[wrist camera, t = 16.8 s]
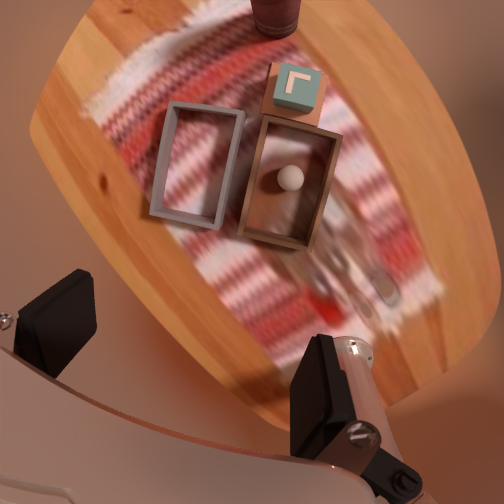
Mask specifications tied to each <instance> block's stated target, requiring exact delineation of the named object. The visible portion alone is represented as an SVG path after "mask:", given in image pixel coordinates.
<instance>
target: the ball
mask: <svg viewBox="0 0 504 504" xmlns="http://www.w3.org/2000/svg"><path fill="white" fill-rule="evenodd" d="M277 180H278V183H279V185H280V186H281V187H282V188H283V189H284V190H287V191H295V190H297V189H299V188H300V187H301V186H302V184H303V181H304V176H303V173H302V171H301V170H300V169H299V168H298V167H296V166H294V165H287V166H284V167H283V168H282V169H281V170H280V171H279V173H278V176H277Z"/></svg>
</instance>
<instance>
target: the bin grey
mask: <svg viewBox="0 0 504 504" xmlns="http://www.w3.org/2000/svg"><path fill="white" fill-rule="evenodd" d="M180 109H182V110H191V111H199V112H206V113H213V114H220V115H226V116H232V117H237V119H236V123H235V128H234V132H233V136H232V141H231V145H230V150H229V154H228V159H227V163H226V168H225V173H224V178H223V182H222V187H221V192H220V197H219V202H218V207H217V212H216V217H215V219H213V218H209V217H205V216H200V215H196V214H191V213H187V212H182V211H178V210H173V209H169V208H164V207H162V204H163V197H164V190H165V184H166V178H167V172H168V166H169V161H170V155H171V150H172V145H173V140H174V135H175V130H176V126H177V121H178V117H179V112H180ZM246 115H247V114H246V113H245V111H243V110H237V109H231V108H225V107H219V106H212V105H204V104H196V103H187V102H177V101H169V105H168V109H167V113H166V118H165V122H164V127H163V132H162V136H161V142H160V147H159V152H158V158H157V163H156V169H155V176H154V182H153V189H152V196H151V204H150V212H149V215H153V216H157V217H162V218H166V219H170V220H175V221H179V222H183V223H188V224H192V225H196V226H201V227H205V228H209V229H214V230H219V229H220V228H221V226H222V225H223V220H224V215H225V210H226V205H227V200H228V195H229V190H230V186H231V181H232V176H233V172H234V167H235V163H236V158H237V154H238V149H239V145H240V140H241V136H242V132H243V127H244V123H245V119H246Z"/></svg>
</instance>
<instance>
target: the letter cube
mask: <svg viewBox="0 0 504 504" xmlns="http://www.w3.org/2000/svg"><path fill="white" fill-rule="evenodd" d="M321 74H322V72H321V71H317V70H313V69H309V68H305V67H301V66H297V65H292V64H287V63H283V62H281V66H280V70H279V74H278V79H277V83H276V87H275V91H274V96H273V104H274V106H278V107H283V108H287V109H292V110H296V111H300V112H304V113H308V114H310V113H311V111H312V110H313V109H314V107H315V102H316V97H317V93H318V88H319V83H320V79H321Z"/></svg>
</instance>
